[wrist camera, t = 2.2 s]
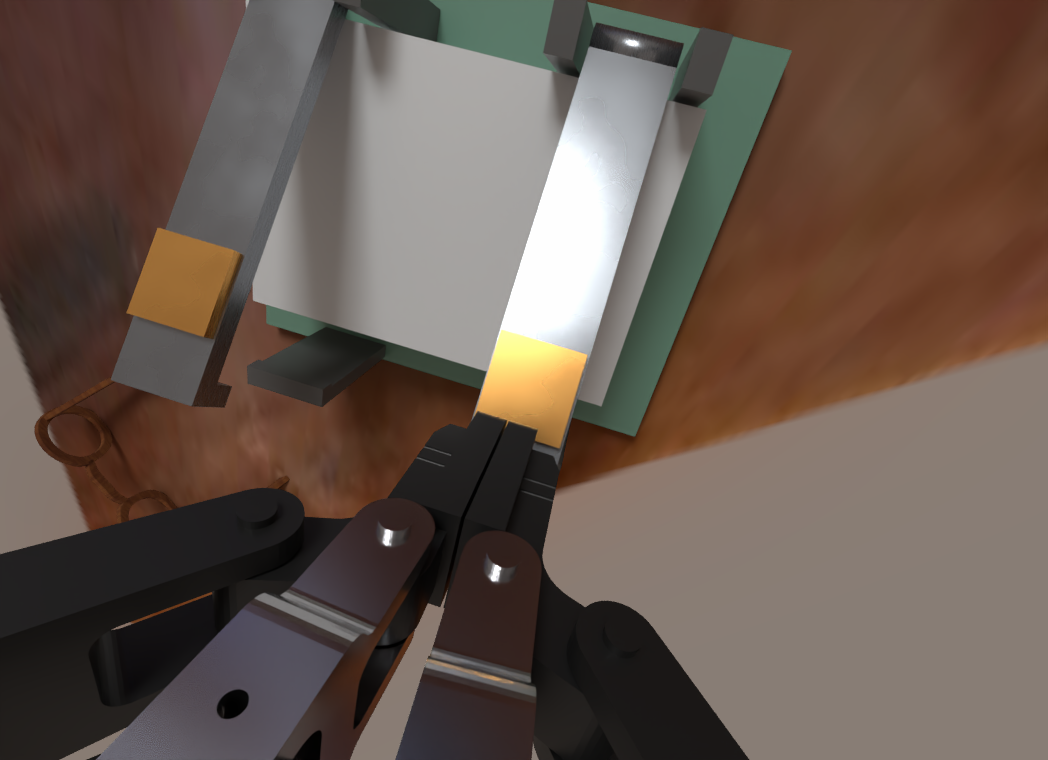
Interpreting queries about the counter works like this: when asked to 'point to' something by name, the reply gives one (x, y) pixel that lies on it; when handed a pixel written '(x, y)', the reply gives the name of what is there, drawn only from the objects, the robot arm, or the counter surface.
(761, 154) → the counter surface
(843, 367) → the counter surface
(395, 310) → the base
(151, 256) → the strap
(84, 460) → the glasses
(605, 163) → the strap
